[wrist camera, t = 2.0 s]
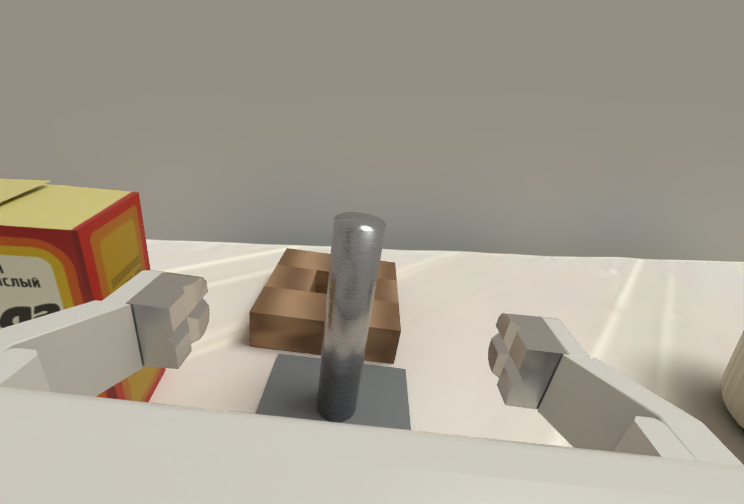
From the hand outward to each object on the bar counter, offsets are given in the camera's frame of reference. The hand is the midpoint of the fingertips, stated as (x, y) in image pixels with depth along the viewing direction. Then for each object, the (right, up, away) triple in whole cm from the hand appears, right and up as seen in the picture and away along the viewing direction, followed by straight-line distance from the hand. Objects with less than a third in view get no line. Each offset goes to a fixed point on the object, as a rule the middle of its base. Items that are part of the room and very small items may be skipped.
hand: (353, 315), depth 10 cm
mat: (-2, -11, +19) cm, 22 cm away
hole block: (-4, -5, +30) cm, 31 cm away
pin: (-2, -11, +19) cm, 22 cm away
